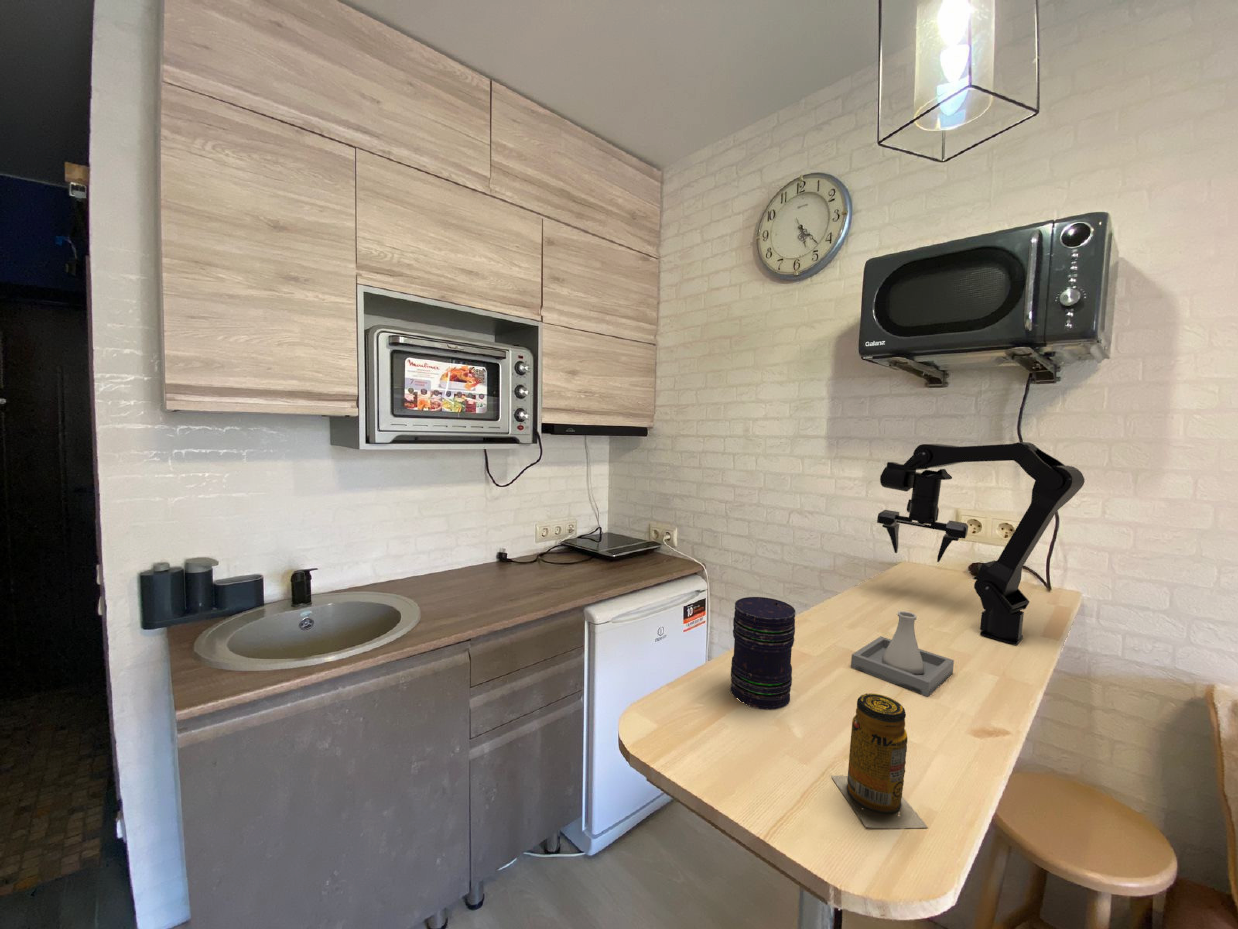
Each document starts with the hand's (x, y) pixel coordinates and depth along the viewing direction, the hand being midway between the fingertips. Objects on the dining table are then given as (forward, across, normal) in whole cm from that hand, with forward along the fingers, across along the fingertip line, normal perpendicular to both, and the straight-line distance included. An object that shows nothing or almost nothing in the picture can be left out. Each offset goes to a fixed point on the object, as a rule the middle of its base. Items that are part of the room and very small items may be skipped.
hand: (916, 557), depth 127 cm
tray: (+12, -5, +39) cm, 41 cm away
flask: (+12, -5, +38) cm, 40 cm away
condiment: (+12, -9, +78) cm, 79 cm away
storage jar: (+13, +12, +64) cm, 66 cm away
